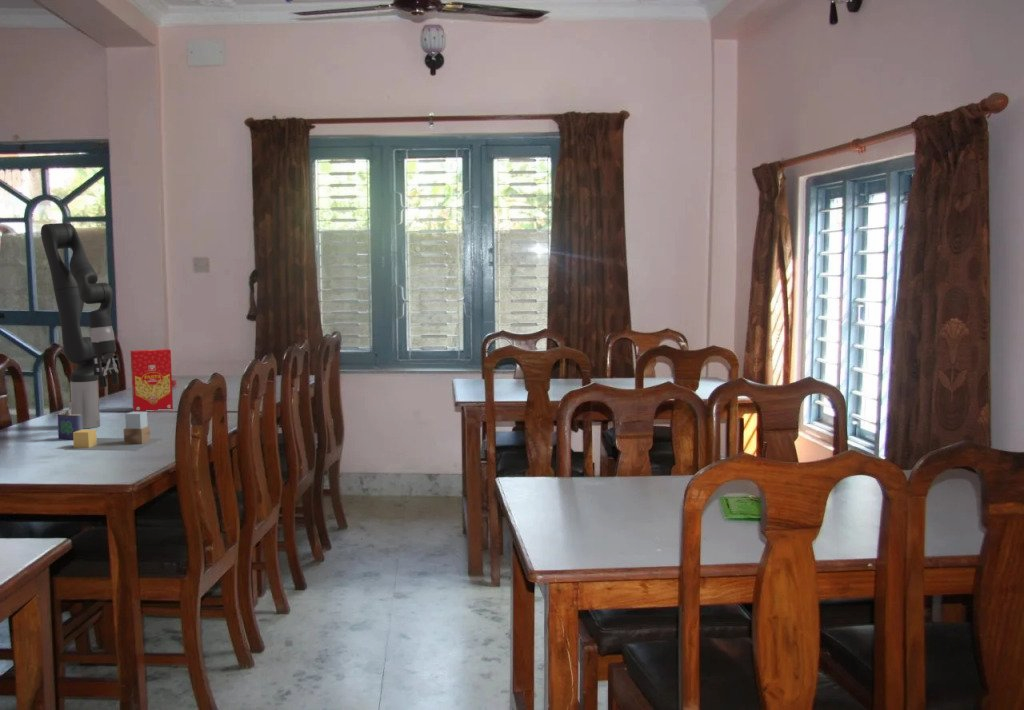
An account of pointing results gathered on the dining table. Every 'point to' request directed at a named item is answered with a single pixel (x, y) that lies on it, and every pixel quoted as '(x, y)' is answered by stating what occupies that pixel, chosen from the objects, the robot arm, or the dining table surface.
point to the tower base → (137, 435)
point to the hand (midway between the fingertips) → (109, 385)
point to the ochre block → (84, 438)
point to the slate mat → (116, 444)
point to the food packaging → (151, 379)
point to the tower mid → (136, 420)
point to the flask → (68, 424)
